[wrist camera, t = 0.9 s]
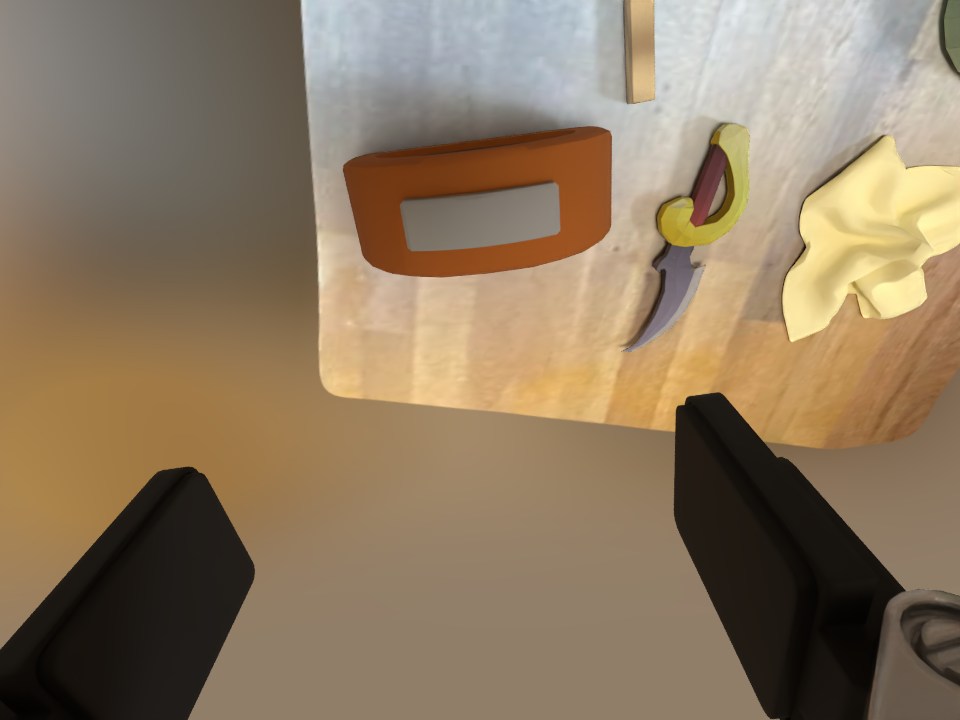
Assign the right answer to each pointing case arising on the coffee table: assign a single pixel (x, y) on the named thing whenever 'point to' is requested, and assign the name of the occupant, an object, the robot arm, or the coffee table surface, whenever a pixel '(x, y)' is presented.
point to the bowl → (953, 31)
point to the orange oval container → (483, 202)
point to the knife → (698, 226)
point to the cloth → (871, 239)
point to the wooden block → (639, 50)
